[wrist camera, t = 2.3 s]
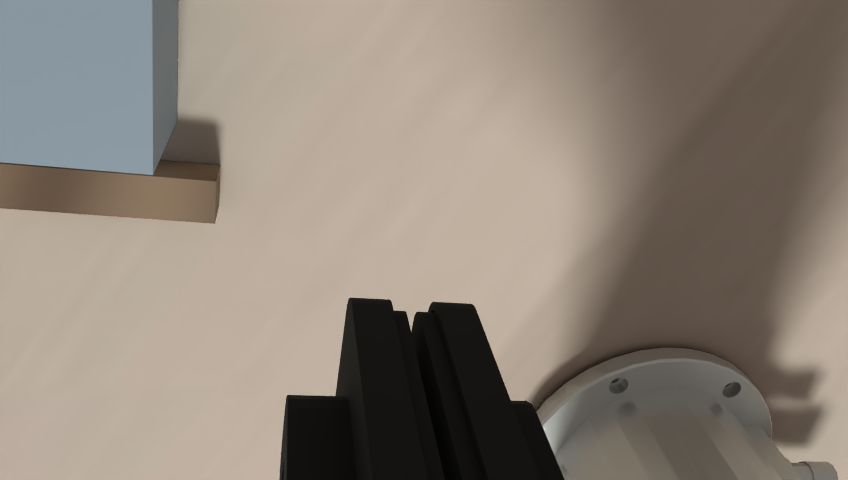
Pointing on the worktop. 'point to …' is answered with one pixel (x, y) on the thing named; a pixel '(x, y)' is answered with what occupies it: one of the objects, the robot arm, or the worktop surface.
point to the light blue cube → (88, 83)
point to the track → (115, 191)
